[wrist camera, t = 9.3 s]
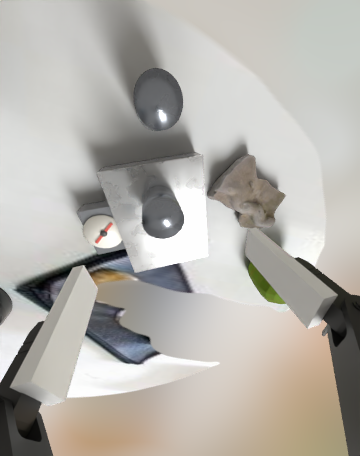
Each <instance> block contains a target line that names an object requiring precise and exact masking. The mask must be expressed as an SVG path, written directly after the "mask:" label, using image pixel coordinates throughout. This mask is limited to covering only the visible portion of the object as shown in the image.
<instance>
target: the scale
mask: <svg viewBox="0 0 360 456" xmlns="http://www.w3.org/2000/svg"><path fill="white" fill-rule="evenodd" d="M196 155H201V154H198V153H195V152H194V153H188V154H182V155H176V156H169V157H163V158H157V159H151V160H145V161H139V162H133V163H127V164H120V165H114V166H108V167H103V168H102V169H101V170H99V171H105V170H111V169H117V168H123V167H130V166H136V165H142V164H148V163H154V162H160V161H166V160H172V159H178V158H184V157H190V156H196ZM77 214H78V216H79V218H80V220H81V222H82V224H83V235H84V237H85V239H86V240H87V241H88V242H89V243H90V244H92V245H94V247H95V249H96V251H97V253H98V254H103V253H107V252H112V251H117V250H121V249H126V248H125V246H124V243H123V240H122V238H121V235H120V233H119V230H118V227H117V225H116V222H115V220H114V217H113V215H112V212H111V209H110V207H109V204H108V202H107V201H102V202H96V203H91V204H85V205H83V206H82V207H81V208H80V209H79V210H78V212H77Z"/></svg>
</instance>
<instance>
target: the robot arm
mask: <svg viewBox="0 0 360 456" xmlns="http://www.w3.org/2000/svg"><path fill="white" fill-rule="evenodd" d="M245 255H246V256H247V258H248V259H249V260H250V261H251V262H252V264H253V265H254V266H255V267H256V268H257V270H258V271H259V272H260V273H261V274H262V275H263V277H264V278H265V279H266V280H267V281H268V283H269V284H270V285H271V286H272V287H273V289H274V290H275V291H276V292H277V293H278V295H279V296H280V297H281V298H282V299H283V300H284V302H285V303H286V304H287V305H288V306H289V308H290V309H291V310H292V311H293V312H294V314H295V315H296V316H297V317H298V318H299V319H300V321H301V322H302V323H303V324H304V325H305V327H306V328H307V329H308V328H311V327H315V326H318V325H320V323H321V321H322V320H324V321H325V322H326V323H327V326H326V327H325V329H324V330H323V332H322V335H323V336H325V335H326V333H328V338H329V344H330V350H331V355H332V362H333V367H334V373H335V379H336V384H337V390H338V395H339V402H340V407H341V413H342V419H343V425H344V430H345V436H346V442H347V447H348V453H349V456H360V296H357V295H351V294H349V293H347V292H346V291H345V290H344V289H342V288H341V287H339V286H338V285H337V284H336V283H335V282H333V281H332V280H331V279H329V278H328V277H327V276H325V275H324V274H322V272H320V271H319V270H318V269H316V268H315V267H314V266H313V265H311V264H310V263H309V262H307V261H305V260H303V259H301V258H299V257H298V258H293V257H292V256H290V255H289V254H288V253H287V252H286V251H284V250H283V249H282V248H281V247H280V246H278V245H277V244H276V243H275V242H273V241H272V240H271V239H270V238H269V237H267V236H266V235H265V234H264V233H263V232H261V231H260V230H259V229H258V228H257V227H255V228H250V229H248V231H247V239H246V248H245ZM97 291H98V288H97V286H96V285H95V283H94V281H93V280H92V278H91V277H90V275H89V273H88V272H87V270H86V268H85V267H84V265H83V266H78V267H74V268H73V269H72V271H71V272H70V274H69V276H68V278H67V280H66V282H65V284H64V286H63V288H62V289H61V291H60V293H59V295H58V297H57V299H56V301H55V303H54V304H53V306H52V308H51V310H50V312H49V314H48V316H47V318H46V320H45V321H42V322H38V323H37V325H36V326H35V327H34V328H33V329H32V330H31V331H30V332H29V334H28V336H27V338H26V339H25V341H24V343H23V346H21V348H20V350H19V352H18V355H16V357H15V358H14V360H13V362H12V364H11V365H10V367H9V369H8V371H7V372H6V374H5V376H4V378H3V379H2V381H1V383H0V456H53V454H52V450H51V447H50V444H49V440H48V437H47V433H46V430H45V426H44V423H43V420H42V416H41V414H40V413H39V412H38V411H39V408H40V405H41V403H43V404H45V405H47V406H51V405H54V404H57V403H61V402H64V401H65V400H66V397H67V393H68V390H69V386H70V383H71V380H72V376H73V373H74V369H75V366H76V363H77V359H78V356H79V352H80V349H81V346H82V342H83V339H84V335H85V332H86V329H87V325H88V322H89V318H90V315H91V312H92V308H93V305H94V301H95V298H96V294H97ZM11 310H12V302H11V299H10V298H9V296H8V295H7V294H6V293H5V292H4V291H3V290H1V289H0V325H1V324H2V323H3V322H4V320H5V319H6V318H7V316H8V315H9V314H10V312H11Z"/></svg>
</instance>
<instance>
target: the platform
mask: <svg viewBox="0 0 360 456" xmlns="http://www.w3.org/2000/svg"><path fill="white" fill-rule="evenodd" d="M97 176H98V178H99V181H100V183H101V186H102V189H103V191H104V194H105V196H106V199H107V202H108V204H109V207H110V209H111V212H112V215H113V217H114V220H115V222H116V225H117V227H118V230H119V233H120V235H121V238H122V240H123V243H124V246H125V248H126V251H127V253H128V256H129V259H130V261H131V264H132V266H133V269H134V271H135V273H136V272H141V271H145V270H149V269H154V268H158V267H162V266H167V265H171V264H175V263H179V262H184V261H188V260H192V259H197V258H201V257H205V256H208V253H207V231H206V209H205V187H204V164H203V155H196V156H190V157H184V158H178V159H172V160H166V161H160V162H154V163H148V164H142V165H136V166H130V167H123V168H117V169H111V170H105V171H99V172H97ZM158 185H159V186H165V187H168V188H169V189H171V190H172V191H173V193H174V194H175V196H176V198H177V200H178V202H179V204H180V206H181V208H182V210H183V213H184V216H185V223H184V226H183V228H182V230H181V231H180V232H179V233H178V234H177V235H175V236H173V237H171V238H168V239H157V238H154V237H151V236H150V235H148V234H147V233H146V232H145V230H144V228H143V226H142V199H143V196H144V194H145V192H146V191H147V190H148V189H149V188H151V187H154V186H158Z"/></svg>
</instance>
